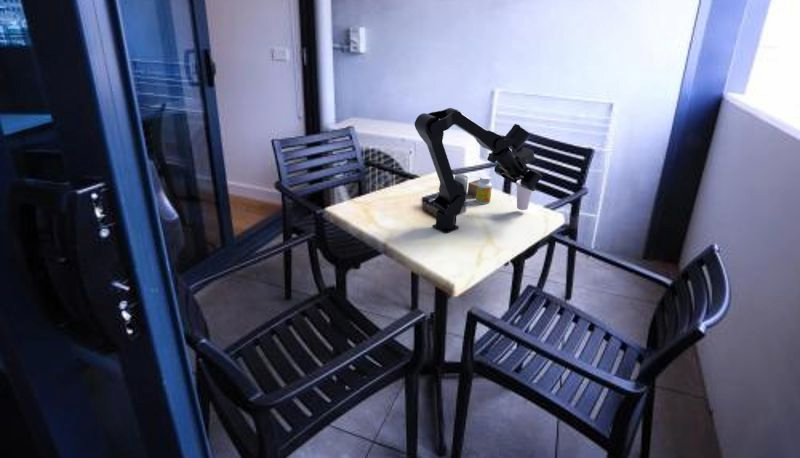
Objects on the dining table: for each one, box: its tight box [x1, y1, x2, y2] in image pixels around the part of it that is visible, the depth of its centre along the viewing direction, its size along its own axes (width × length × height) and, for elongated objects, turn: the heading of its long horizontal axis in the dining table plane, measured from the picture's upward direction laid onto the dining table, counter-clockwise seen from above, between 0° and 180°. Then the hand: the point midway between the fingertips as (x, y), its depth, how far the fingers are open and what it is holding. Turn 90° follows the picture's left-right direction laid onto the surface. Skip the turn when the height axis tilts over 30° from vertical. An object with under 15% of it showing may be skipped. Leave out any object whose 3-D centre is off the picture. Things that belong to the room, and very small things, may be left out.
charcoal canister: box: [454, 174, 469, 197], centre depth 180 cm, size 5×5×8 cm
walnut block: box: [467, 179, 480, 199], centre depth 183 cm, size 6×5×5 cm
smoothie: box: [515, 169, 533, 211], centre depth 166 cm, size 6×6×14 cm
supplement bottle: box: [475, 175, 493, 205], centre depth 176 cm, size 5×5×10 cm
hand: (527, 187), depth 166 cm, fingers closed on smoothie, 6 cm apart
